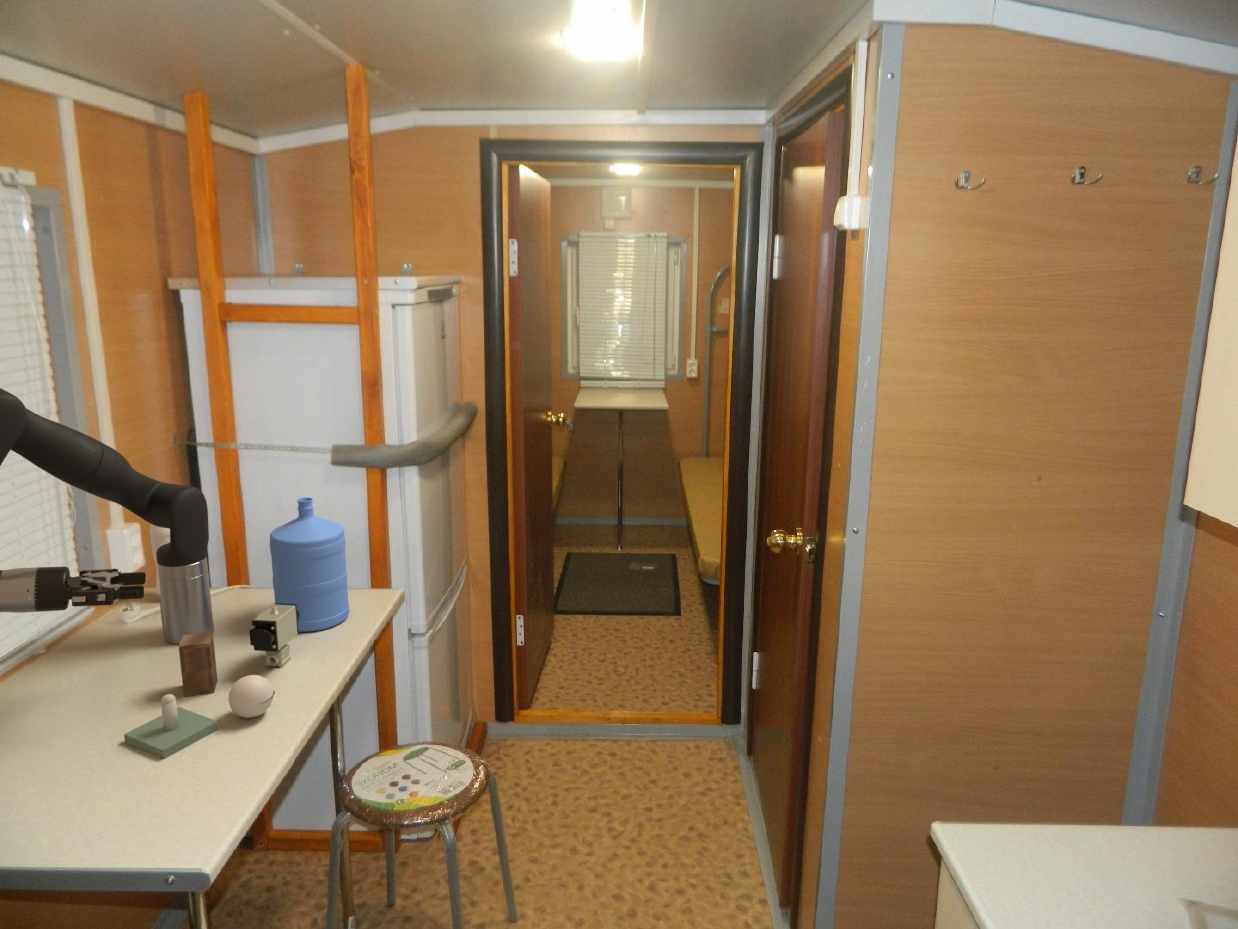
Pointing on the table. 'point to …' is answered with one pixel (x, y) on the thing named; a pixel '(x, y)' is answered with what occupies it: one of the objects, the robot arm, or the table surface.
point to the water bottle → (157, 540)
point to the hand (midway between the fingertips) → (144, 584)
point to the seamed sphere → (251, 696)
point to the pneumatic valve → (275, 632)
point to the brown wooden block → (198, 664)
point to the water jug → (311, 568)
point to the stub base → (170, 730)
